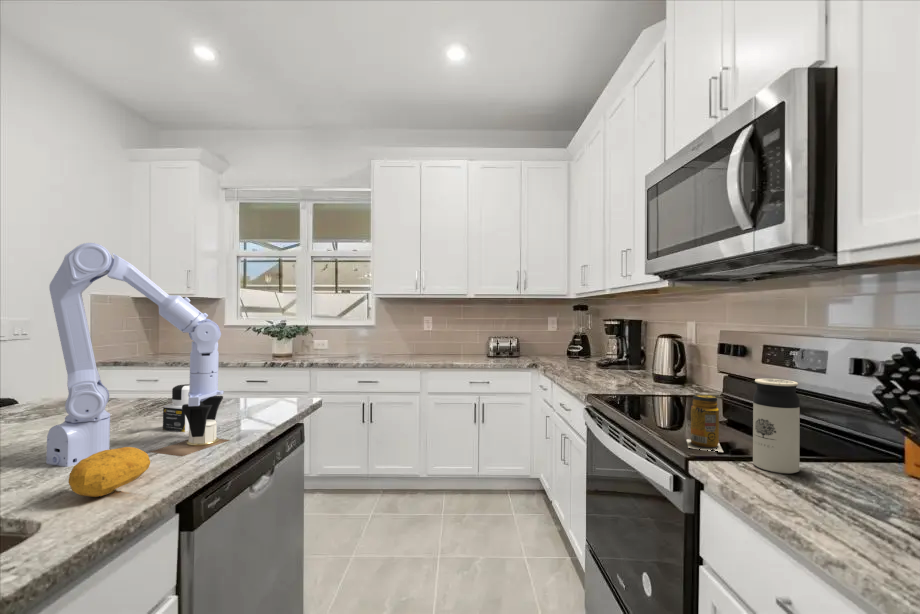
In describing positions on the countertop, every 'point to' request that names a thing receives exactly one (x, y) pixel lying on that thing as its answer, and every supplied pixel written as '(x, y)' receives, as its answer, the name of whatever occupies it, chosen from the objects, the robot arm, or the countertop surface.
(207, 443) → the knob
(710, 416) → the condiment
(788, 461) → the travel mug
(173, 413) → the medicine bottle
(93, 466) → the potato
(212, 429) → the cap
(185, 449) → the board
